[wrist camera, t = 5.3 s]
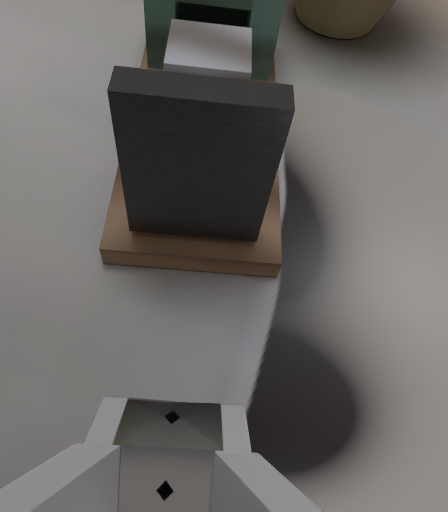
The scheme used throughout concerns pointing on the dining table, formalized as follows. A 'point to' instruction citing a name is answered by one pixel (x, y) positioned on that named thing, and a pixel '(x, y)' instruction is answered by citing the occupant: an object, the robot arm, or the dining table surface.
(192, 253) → the tube housing
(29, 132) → the dining table surface
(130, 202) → the upright dark gray slab
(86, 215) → the dining table surface
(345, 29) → the plant pot
